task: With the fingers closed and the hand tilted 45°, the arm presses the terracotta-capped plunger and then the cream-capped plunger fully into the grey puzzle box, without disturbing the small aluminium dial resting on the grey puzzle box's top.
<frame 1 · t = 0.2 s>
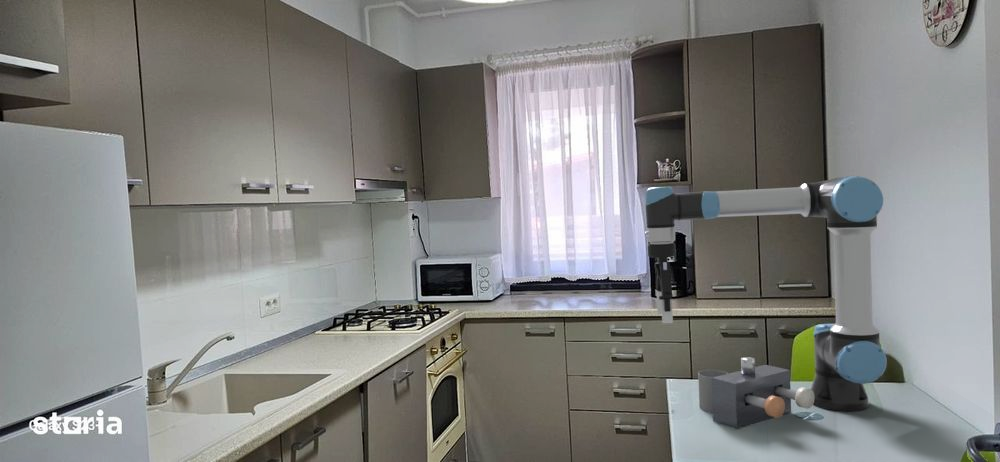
hand: (665, 318, 182), 28 cm above the table, tool pointing down, fingers open, 13 cm apart
knob b: (791, 394, 175), point 7 cm above the table, slide at 0.0 cm
dial: (748, 373, 180), point 12 cm above the table, touching grey puzzle box
knob a: (762, 402, 169), point 7 cm above the table, slide at 0.0 cm
cup: (714, 408, 189), on the table
grey puzzle box: (752, 416, 179), on the table
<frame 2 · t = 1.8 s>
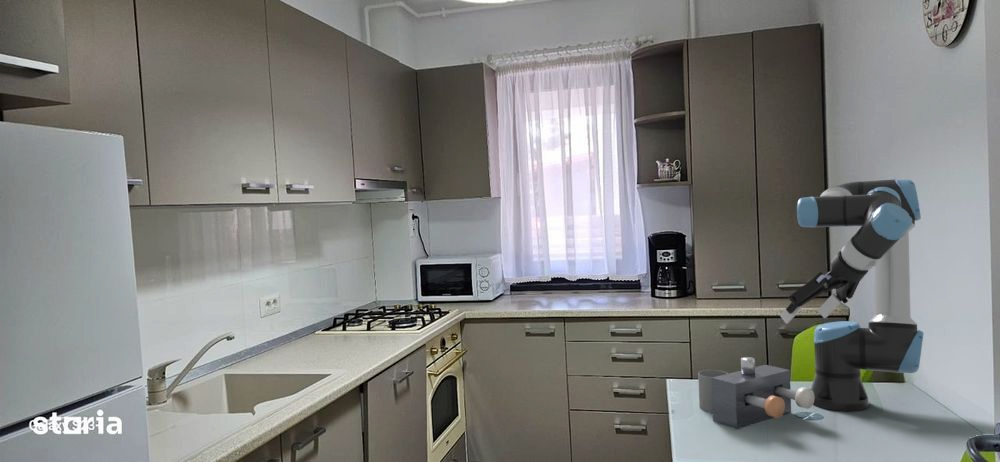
hand: (803, 316, 166), 29 cm above the table, tool tilted 45°, fingers open, 13 cm apart
nothing on the table moved.
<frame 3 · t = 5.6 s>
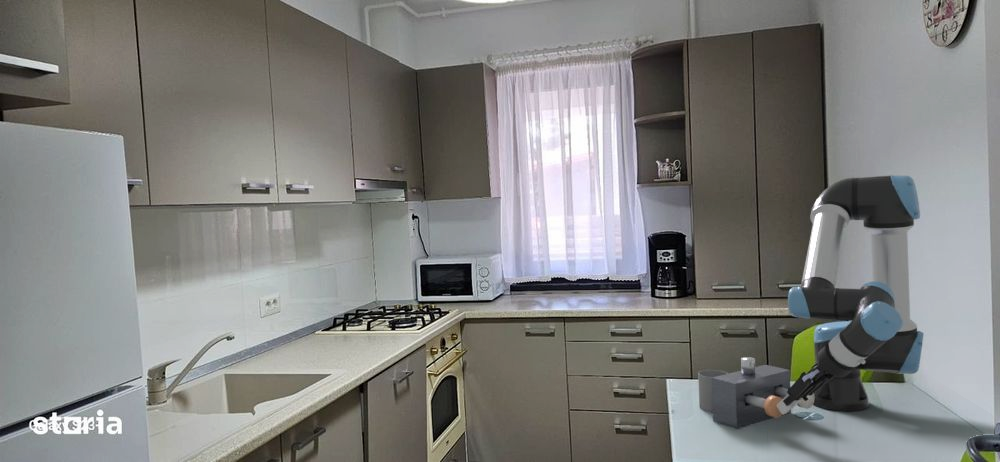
hand: (781, 409, 164), 7 cm above the table, tool tilted 45°, fingers closed
knob a: (761, 402, 169), point 7 cm above the table, slide at 0.1 cm, touching gripper
everything else where it was.
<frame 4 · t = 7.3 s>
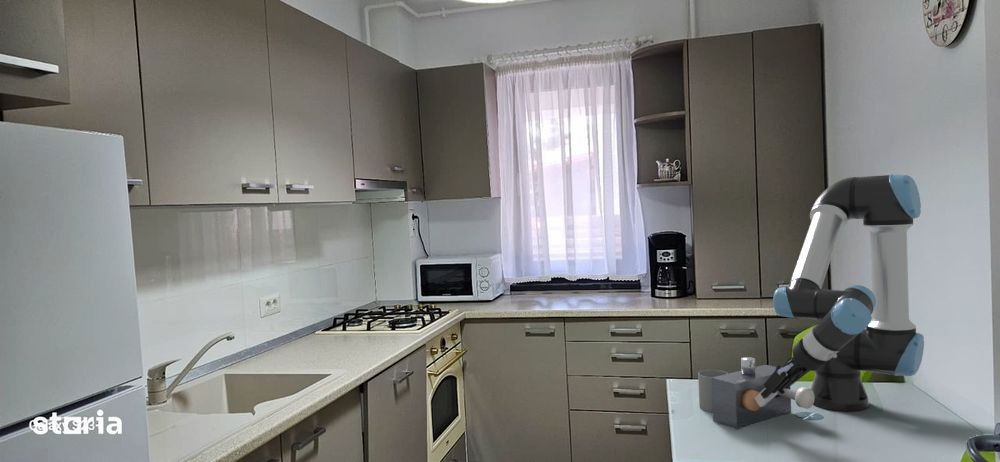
hand: (759, 402, 170), 7 cm above the table, tool tilted 45°, fingers closed
knob a: (740, 396, 175), point 7 cm above the table, slide at 7.0 cm, touching gripper, grey puzzle box
everything else where it was.
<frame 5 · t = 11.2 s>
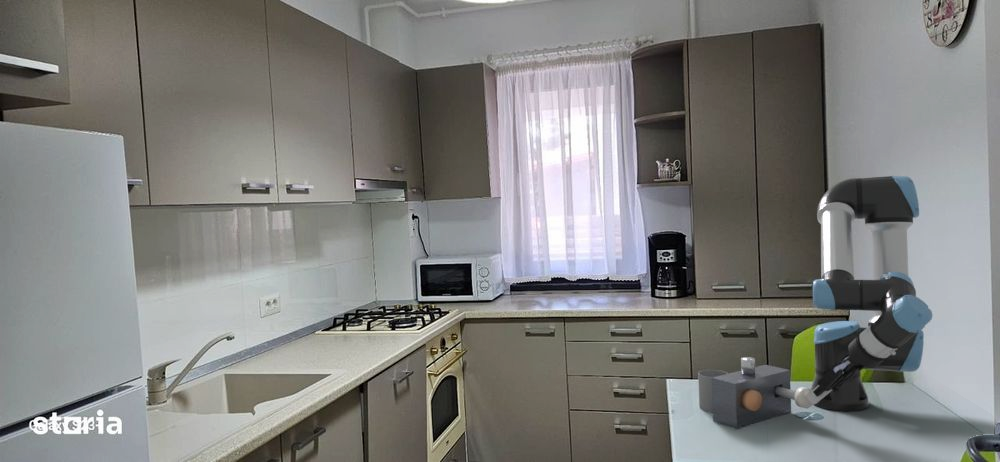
hand: (810, 399, 170), 7 cm above the table, tool tilted 45°, fingers closed
knob b: (791, 394, 175), point 7 cm above the table, slide at 0.2 cm, touching gripper
knob a: (740, 396, 175), point 7 cm above the table, slide at 7.0 cm, touching grey puzzle box
everything else where it was.
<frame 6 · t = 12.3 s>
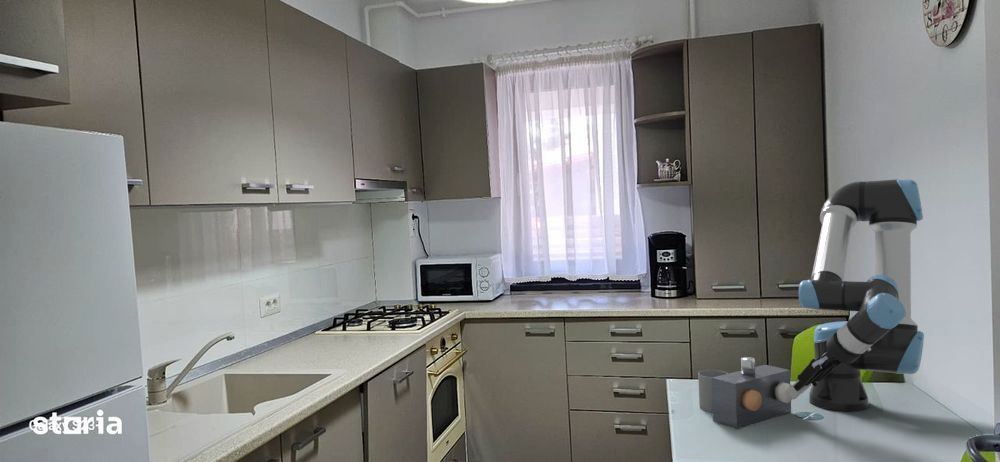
hand: (791, 394, 175), 7 cm above the table, tool tilted 45°, fingers closed
knob b: (772, 389, 180), point 7 cm above the table, slide at 6.1 cm, touching gripper
everything else where it was.
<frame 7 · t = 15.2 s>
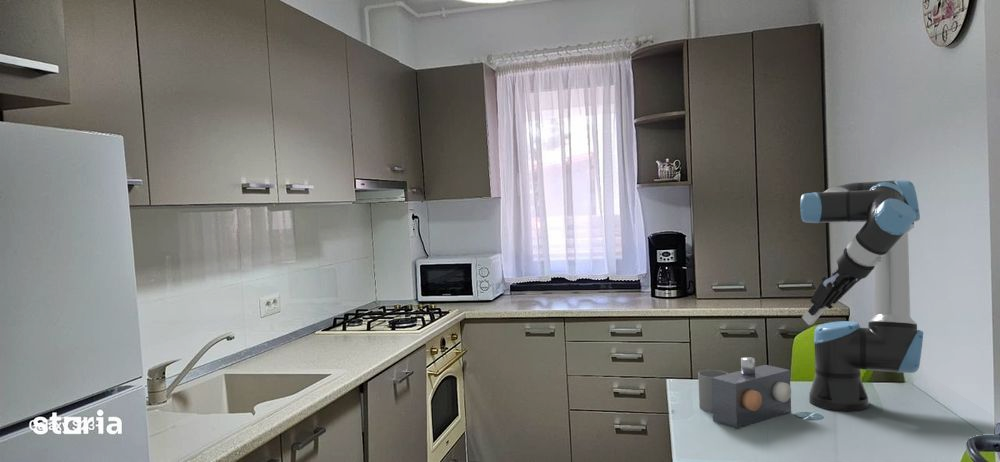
hand: (807, 320, 168), 28 cm above the table, tool tilted 40°, fingers closed
knob b: (769, 388, 181), point 7 cm above the table, slide at 7.0 cm, touching grey puzzle box
everything else where it was.
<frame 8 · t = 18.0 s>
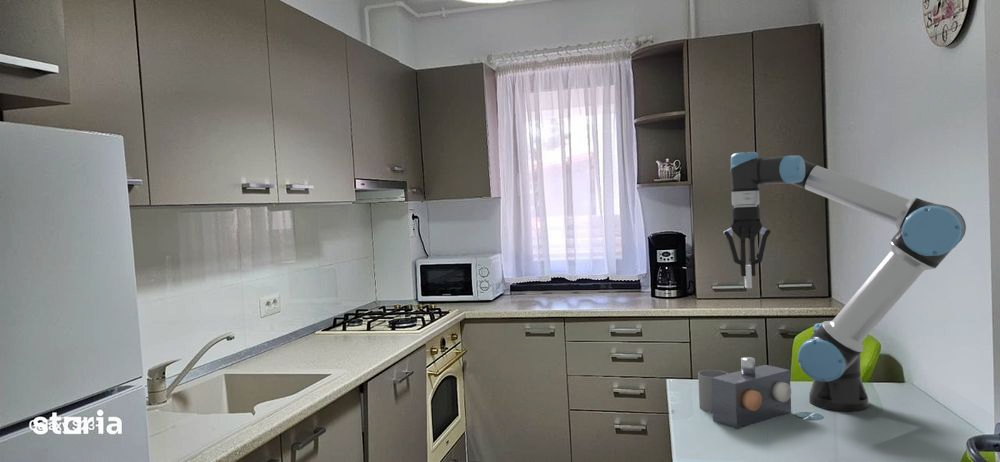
hand: (748, 287, 189), 34 cm above the table, tool pointing down, fingers closed
nothing on the table moved.
at the end: knob a slide at 7.0 cm; knob b slide at 7.0 cm; dial moved 0.0 cm from its start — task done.
